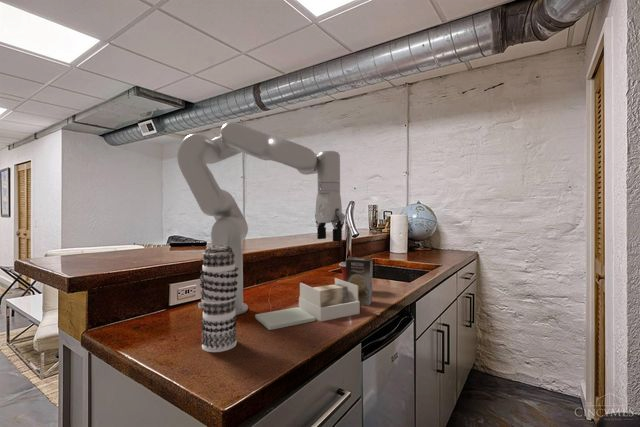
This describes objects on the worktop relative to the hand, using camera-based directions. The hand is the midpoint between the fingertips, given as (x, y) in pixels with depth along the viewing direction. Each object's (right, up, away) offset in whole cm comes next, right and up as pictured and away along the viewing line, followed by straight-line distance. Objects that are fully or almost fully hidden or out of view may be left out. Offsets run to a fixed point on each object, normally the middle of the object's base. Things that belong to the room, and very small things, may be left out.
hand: (329, 240), depth 109 cm
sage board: (-14, -24, -8) cm, 29 cm away
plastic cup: (+10, -24, +26) cm, 37 cm away
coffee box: (+11, -24, +11) cm, 28 cm away
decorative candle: (-29, -25, -27) cm, 46 cm away
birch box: (0, -24, 0) cm, 24 cm away
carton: (0, -24, 0) cm, 24 cm away
